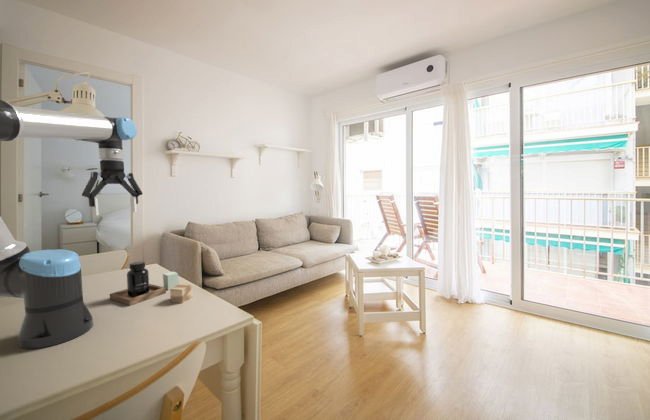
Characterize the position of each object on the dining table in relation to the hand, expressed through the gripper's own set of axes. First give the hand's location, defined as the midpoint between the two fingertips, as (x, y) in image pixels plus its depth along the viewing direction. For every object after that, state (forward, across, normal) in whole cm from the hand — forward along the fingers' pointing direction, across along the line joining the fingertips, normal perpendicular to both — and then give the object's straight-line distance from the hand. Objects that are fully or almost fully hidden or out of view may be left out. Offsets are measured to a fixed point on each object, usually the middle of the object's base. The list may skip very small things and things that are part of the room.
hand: (115, 213), depth 111 cm
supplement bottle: (+30, -2, -16) cm, 34 cm away
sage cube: (+31, +9, -19) cm, 37 cm away
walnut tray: (+31, -2, -16) cm, 35 cm away
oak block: (+31, +3, -34) cm, 46 cm away
